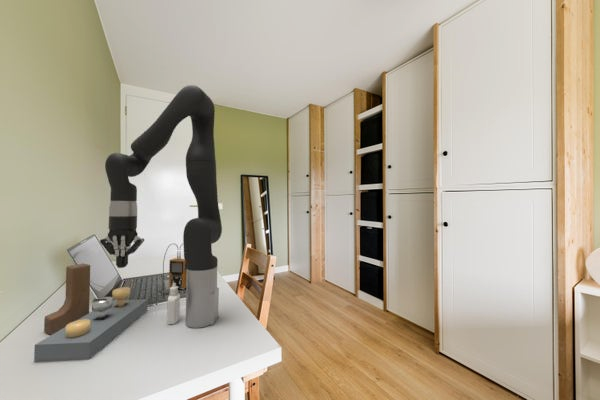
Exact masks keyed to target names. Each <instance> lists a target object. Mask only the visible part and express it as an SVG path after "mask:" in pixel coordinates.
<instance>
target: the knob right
mask: <svg viewBox="0 0 600 400" xmlns="http://www.w3.org/2000/svg"><path fill="white" fill-rule="evenodd" d="M111 293H112V296H111V297H112V298H113V300H117V307H124V306H125V300H126V299H127V298H129V297H130V296H131V288H130V287H129V286H122V287H117V288H115V289H113V290H112V292H111Z"/></svg>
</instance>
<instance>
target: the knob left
mask: <svg viewBox="0 0 600 400" xmlns="http://www.w3.org/2000/svg"><path fill="white" fill-rule="evenodd" d="M89 331H90V320H89V319H81V320H77V321H74V322H71V323H69V324H67V325H66V337H67V338H73V337H78V336H81V335H84V334H86V333H87V332H89Z"/></svg>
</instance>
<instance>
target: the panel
mask: <svg viewBox="0 0 600 400" xmlns="http://www.w3.org/2000/svg"><path fill="white" fill-rule="evenodd" d="M148 304H149V303H148V299H147V298H146V299H125V306H124V307H117V300H114V299H113V302H112V307H111V308H109V309H107V318H106V319H105V320H98V312H94V311H92V310H91V311H89V314H87V315H85V316H83V317H82V318H80V319H78V320H81V319H89V320H90V331H89V332H87V333H86V334H84V335H81V336H78V337H73V338H67V337H66V327H64V328H63V329H61V330H59V331H58V332H56V333H54V334H52V335H49V336H48V337H46V338H44V339H42V340H40V341H38V342H37V343H36V344H34V353H33V354H34V355H33V356H34V358H33V362H34V363H39V362H41V363H42V362H58V361H59V362H60V361H61V362H62V361H80V360H90V359H91V358H92V357H94V356H95V355H96V354H97V353H99V352H100V351H101V350H102V349H104V348H105V346H107V345H108V344H109V343H110V342H112V341H114V339H116V338H117V337H118V336H119V335H120V334H121V333H123V332H124V331H125V330H126V329H128V328H129V327H130V326H131V325H133V324H134V322H136V321H137V320H138V319H139V318H141V317H142V316H144V315H145V314H146V313H147V312H148ZM76 321H77V320H76Z"/></svg>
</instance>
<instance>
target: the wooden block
mask: <svg viewBox="0 0 600 400" xmlns="http://www.w3.org/2000/svg"><path fill="white" fill-rule="evenodd" d="M65 269H66V271H65V275H66V276H65V299H64V302H63V305H62V306H61V307H60V308H58V310H56V311H53V312H52V313H50V314H47V315H45V316H44V321H43V322H44V323H43V324H44V325H43V326H44V328H43V331H44V332H45V333H46V334H48V335H49V336H51V335H52V334H54V333H56V332H58V331H59V330H61V329H63V328H64V327H66V325H67V324H69V323H71V322H74V321H76V320H78V319H80V318H82V317H83V316H85V315H87V314H89V313H90V294H91V293H90V292H91V291H90V290H91V288H90V287H91V265H90V264H88V263H79V264H73V265H67V266H66V268H65Z"/></svg>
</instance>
